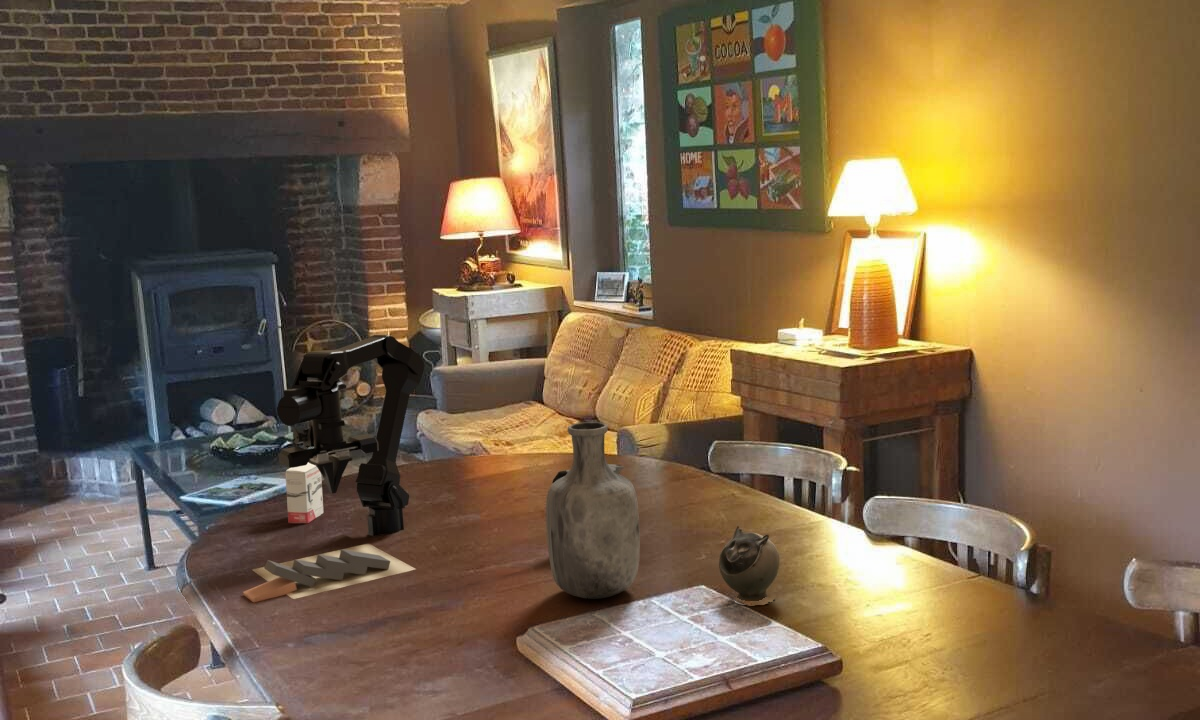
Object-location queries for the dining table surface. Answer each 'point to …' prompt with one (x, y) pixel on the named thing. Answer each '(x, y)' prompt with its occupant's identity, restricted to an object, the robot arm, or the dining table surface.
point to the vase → (592, 521)
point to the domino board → (349, 578)
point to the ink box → (304, 493)
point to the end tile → (270, 589)
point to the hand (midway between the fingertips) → (333, 493)
